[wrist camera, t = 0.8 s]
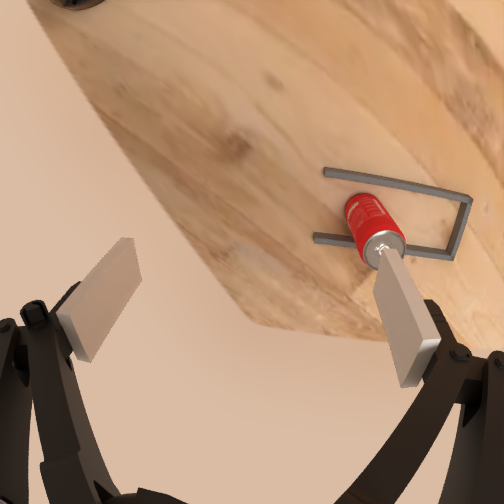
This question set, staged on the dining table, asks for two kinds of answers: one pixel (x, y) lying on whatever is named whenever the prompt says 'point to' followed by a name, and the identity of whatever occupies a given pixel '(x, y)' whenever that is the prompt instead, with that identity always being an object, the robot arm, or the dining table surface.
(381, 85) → the dining table surface
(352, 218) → the beverage can
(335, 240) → the grey u-shaped frame
